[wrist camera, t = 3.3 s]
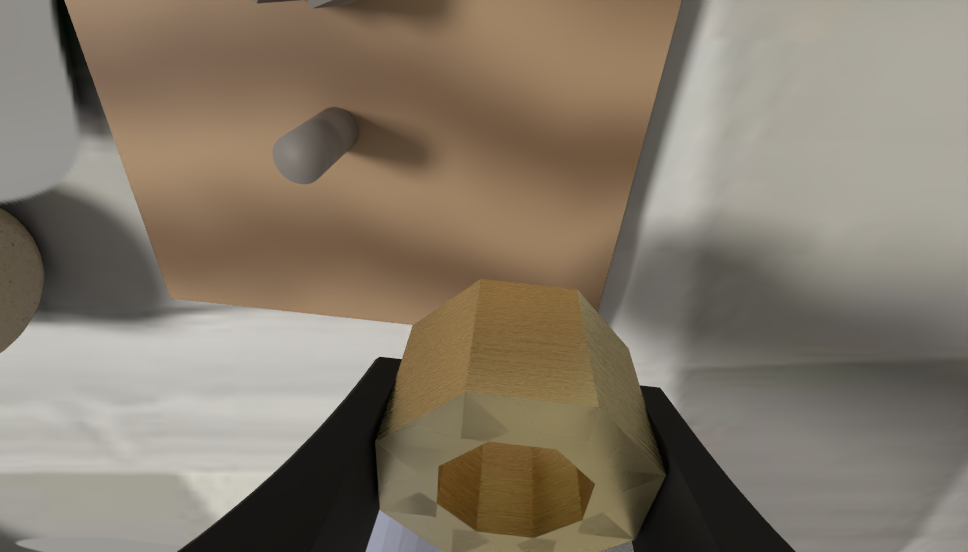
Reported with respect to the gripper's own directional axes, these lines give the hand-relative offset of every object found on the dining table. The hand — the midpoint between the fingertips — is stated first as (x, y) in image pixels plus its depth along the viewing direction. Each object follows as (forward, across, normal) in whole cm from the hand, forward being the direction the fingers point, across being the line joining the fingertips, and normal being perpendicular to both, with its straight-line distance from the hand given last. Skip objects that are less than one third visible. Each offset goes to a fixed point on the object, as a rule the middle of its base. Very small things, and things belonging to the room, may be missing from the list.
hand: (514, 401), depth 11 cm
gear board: (+8, +6, -5) cm, 11 cm away
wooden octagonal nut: (+1, 0, 0) cm, 1 cm away
